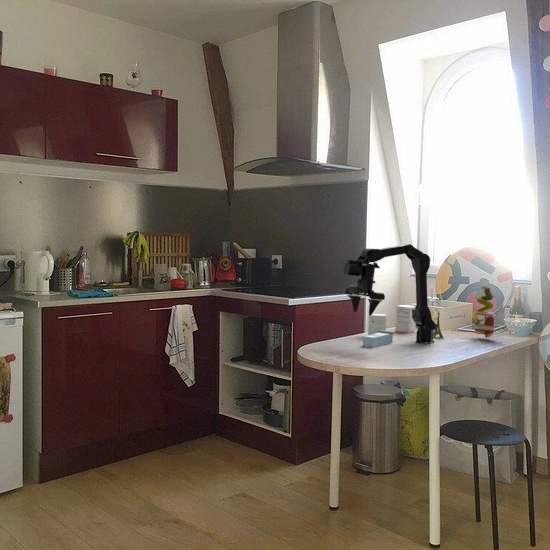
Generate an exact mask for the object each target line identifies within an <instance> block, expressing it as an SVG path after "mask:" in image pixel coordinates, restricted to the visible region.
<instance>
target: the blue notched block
mask: <svg viewBox="0 0 550 550" xmlns="http://www.w3.org/2000/svg"><path fill="white" fill-rule="evenodd" d="M378 332H380V333H376V334H372V335H370V336H378V337H379V346H378V347H380V346H383V345H387V344H391V343H393V340H394V339H393V336H394V335H395V334H396V331H393V330H386V331H385V330H378Z"/></svg>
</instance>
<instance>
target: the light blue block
mask: <svg viewBox="0 0 550 550" xmlns="http://www.w3.org/2000/svg"><path fill="white" fill-rule="evenodd" d="M362 347H367V348H378V347H380V346H379V337H378V336H370V335H368V334H367V335H364V336H363V337H362Z"/></svg>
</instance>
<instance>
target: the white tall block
mask: <svg viewBox="0 0 550 550" xmlns="http://www.w3.org/2000/svg"><path fill="white" fill-rule="evenodd" d="M415 307H416V305H405V304H401V305H397V306H396V313H395V332H399V333H409V334H410V333H413V332H415V331H416V324H415V322H414V321H413V318H412V309H415Z"/></svg>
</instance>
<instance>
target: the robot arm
mask: <svg viewBox="0 0 550 550" xmlns="http://www.w3.org/2000/svg"><path fill="white" fill-rule="evenodd" d="M404 254H405V256H406V258H408V259H409V260H410V261H411V267H412V270H413V271H414V273H415V274H414V275H415V297H416V298H415V299H416V300H415V301H416V302H415V303H416V305H415V306H416V307H415V309H412V318H413V321H414V322H415V328H417V331H416V334H415V335H416V340H415V342H416V343H423V344H432V343H435V340H434V339H433V333H434V331H435V329H436V326H437V323H436V322H435V321H434V320H433V317H432V311H431V309H430V308H429V305H428V279H427V278H428V276H427V275H428V271H429V269H430V266H431V257H430V256H429V255H428V254H427V253H424V252H423V251H422V250H420V249H417V248H416V247H415V246H414V245H413V244H410V243H403V244H401V245H395V246H390V247H384V248H383V247H382V248H364V249H363V250H362V251H361V254H360V255H359V256H358V258H357V259H356V260H353V259H347V260H346V263H344V266H343V274H344V276H349V277H357V282H354V283H352V284H349V285H348V287H347V288H346V289H345V295H347V297H349V299H350V301H351V304H352V309H353V312H354V313H357V311H358V309H359V305H360V301H361V298H362V296H364V297H368V299H367V301H368V302H369V306H368V316H369V315H372V314H374V312H375V310H376V309H377V307H378V306H379V304H380V303H382V302H383V301H385V298H386V295H385V293H383V292H379V291H378V292H377V291H376V292H375V290H373V286H374V284H376V281H375V280H374V279H375V272H376V271H375V270H376V269H380V266H379V265H378V263H377V262H379V261H382V259H384V258H388V257H393V256H399V255H404ZM363 264H364V265H363ZM358 277H359V278H358Z"/></svg>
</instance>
